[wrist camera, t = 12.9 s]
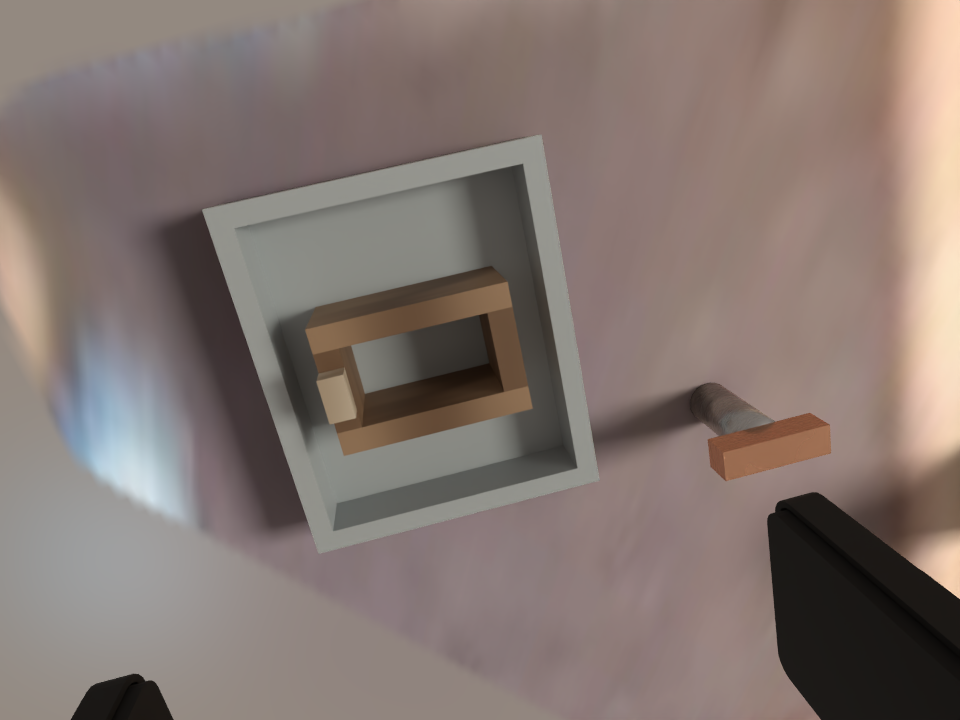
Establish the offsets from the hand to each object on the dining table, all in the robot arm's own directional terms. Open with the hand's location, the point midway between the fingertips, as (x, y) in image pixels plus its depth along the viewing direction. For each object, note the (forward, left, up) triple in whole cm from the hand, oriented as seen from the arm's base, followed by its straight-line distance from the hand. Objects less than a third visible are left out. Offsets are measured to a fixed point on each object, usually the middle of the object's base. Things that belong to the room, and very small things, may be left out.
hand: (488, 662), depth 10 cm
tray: (0, 0, -18) cm, 18 cm away
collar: (0, 0, -17) cm, 17 cm away
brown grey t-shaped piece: (-6, -12, -18) cm, 22 cm away
